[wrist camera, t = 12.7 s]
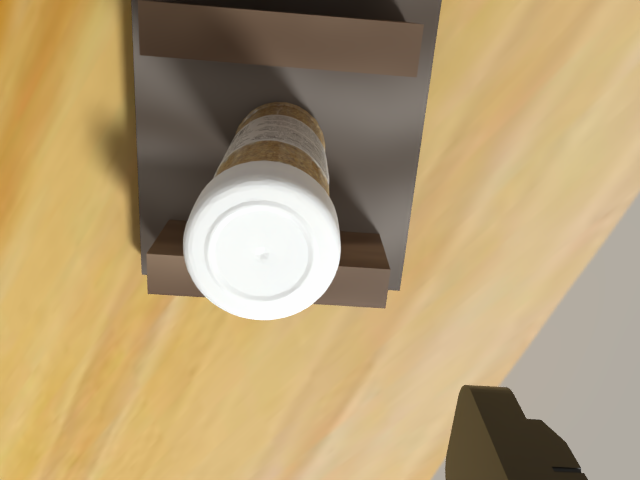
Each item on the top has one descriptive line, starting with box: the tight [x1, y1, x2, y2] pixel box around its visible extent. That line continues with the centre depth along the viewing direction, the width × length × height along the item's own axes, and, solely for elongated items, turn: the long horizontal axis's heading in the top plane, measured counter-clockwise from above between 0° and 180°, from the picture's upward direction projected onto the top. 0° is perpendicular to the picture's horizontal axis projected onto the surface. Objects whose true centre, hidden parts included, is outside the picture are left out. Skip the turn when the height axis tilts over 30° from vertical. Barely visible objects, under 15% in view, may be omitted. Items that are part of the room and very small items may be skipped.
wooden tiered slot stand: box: [131, 0, 442, 308], centre depth 24 cm, size 17×14×12 cm
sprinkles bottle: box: [183, 102, 341, 320], centre depth 23 cm, size 5×5×13 cm
